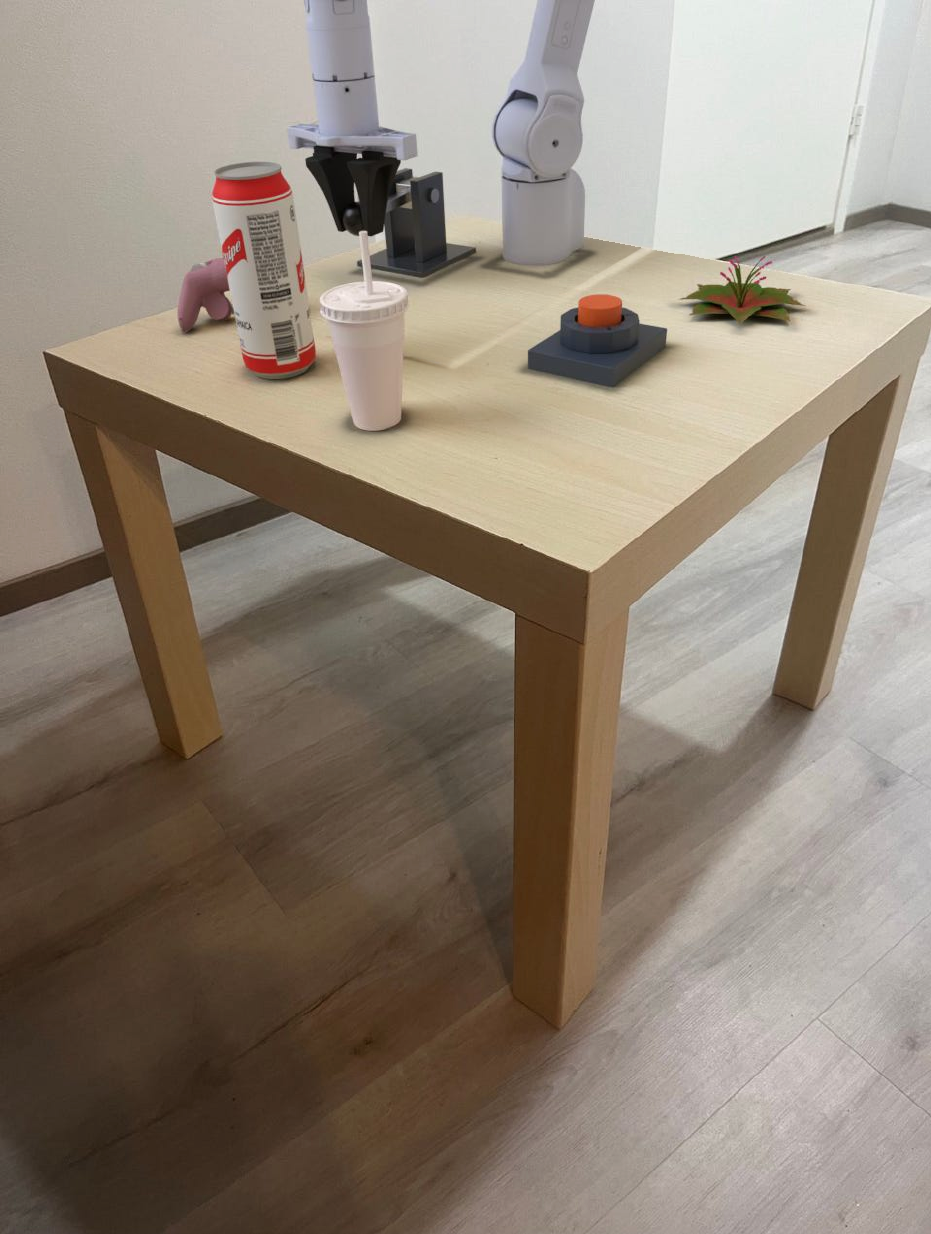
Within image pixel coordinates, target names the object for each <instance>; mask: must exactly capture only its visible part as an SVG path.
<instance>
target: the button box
mask: <svg viewBox="0 0 931 1234" xmlns="http://www.w3.org/2000/svg"><path fill="white" fill-rule="evenodd" d="M559 325H560V326H559V327H560V328H559V330H558V331H556V332H555V333H553V334H551V335H550V336H548V337H546V338H545V339H543V340H542V341H540V342H539V343H537V344H536V345H534V346H533V347H531V348H529V349H528V350H527V369H528V370H530V371H531V370H532V371H536V372H541V373H545V374H550V375H553V376H558V377H563V378H568V379H572V380H577V381H581V382H585V383H591V384H593V385H599V386H603V387H608V388H614V387H615V386H616V385H618V384H619V383H620V382H622V381H623V380H624V379H626V378H628V376H630V375H631V374H632V373H634V371H636V370H637V369H639V368H640V367H641V366H642V365H644V364H645V363H646V362H648V361H649V360H650V359H652V358H653V357H654V356H656V355H657V354H658V353H660V352H661V351H662V350H663V349H665V348H666V347H667V338H668V337H667V336H668V328H667V327H661V326H656V325H651V324H645V323H640V316H639V314H638V313H637V312H635V311H633V310H631V309H629V308H627V307H623V306H622V316H621V323H620V324H619V325H615V326H610V327H590V326H584V325H581V324H579V323H578V307H574V308H571V309H568V310H567V311H565V312H564V313H562V314H560V323H559Z"/></svg>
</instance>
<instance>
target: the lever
mask: <svg viewBox="0 0 931 1234" xmlns="http://www.w3.org/2000/svg"><path fill="white" fill-rule="evenodd" d="M419 177H420V176H413V177H412V176H411V177H409V178H407V179H405V180H402V181H400V182H398V183H396V184H395V185H396V194H393V195H391V196H389V197H388V202H387V208H386V213H388V212H390V211H392V210H394V209H396V208H398V207H400V208H407V209H412V199H411V185H410V180H413V179H416V178H419ZM343 224H344V226H345V228H346V231H347V232H348V233H349V234H351V235H353V236H355V237H359V232H360V231H364V228H363V222H362V215H361V208H360V201H355V202H353V203H351V204H349V205H348V206H347V207H346V208H345V210H344V212H343Z"/></svg>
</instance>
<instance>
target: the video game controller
mask: <svg viewBox="0 0 931 1234" xmlns="http://www.w3.org/2000/svg"><path fill="white" fill-rule="evenodd" d="M180 289H181V290H180V294H179V300H178V304H177V305H178V306H177V322H178V325H179V328H180V329H181V330H182V331H183V332H185V333H186V332H189V331H190V330H192V329H193V327H194V326H195V324H196V322H197V319H198V317H199V314H200V311H201V308H202V307H203V308H204V309H205V311H206V313H207V315H208V316H209V317H210V318H211V319H213V320H216V321H219V322H225V321H227V320H228V319H229V318H230V317H231V316H232V314H233V305H232V302H230V300H229V298H228V297H227V296H226V294H225V293H226V292H230V289H229V284H228V279H227V274H226V269H225V263H224V258H223V257H218V258H214V259H212V260H208V261H204V262H200V263H193V264H192V265H191V267H190V270H189V271H188V272H186V274H184V277H183V280H182V284H181V288H180Z"/></svg>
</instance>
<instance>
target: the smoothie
mask: <svg viewBox="0 0 931 1234" xmlns="http://www.w3.org/2000/svg"><path fill="white" fill-rule="evenodd" d="M358 237H359V245H360V253H361V259H362V264H363V267H362V273H363V281H355V282H354V281H353V282H349V283H344V284H340V285H337V286H334V287H332V288H330V289H327V290H325V292H323V293H322V294H321V296H320V297H319V304H320V305H319V306H320V309H319V310H320V312H319V314H320V315H321V316H322V317H323V318H324V319H326V323H327V326H328V331H329V335H330V339H331V341H332V345H333V349H334V353H335V356H336V362H337V364H338V369H339V372H340V376H341V380H342V384H343V387H344V392H345V395H346V400H347V403H348V407H349V410H350V414H351V419H352V422H353V425H354V426H355V427H356V428H358V429H360V430H364V431H371V432H372V431H373V432H375V431H384V430H386V429H388V428H391V427H394V426H395V425H397V424H399V423H400V421H401V420H402V407H403V406H402V403H403V375H404V349H405V327H406V326H405V325H406V324H405V322H406V321H405V320H406V312H407V310H408V309H409V308H410V302H409V294H408V291H407V289H406V288H405V287H404V286H402V285H400V284H398V283H394V282H389V281H382V280H373V277H372V276H373V275H372V274H373V273H372V269H371V265H370V248H369V247H370V246H369V236H367V231H360V232H359V236H358Z"/></svg>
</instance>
